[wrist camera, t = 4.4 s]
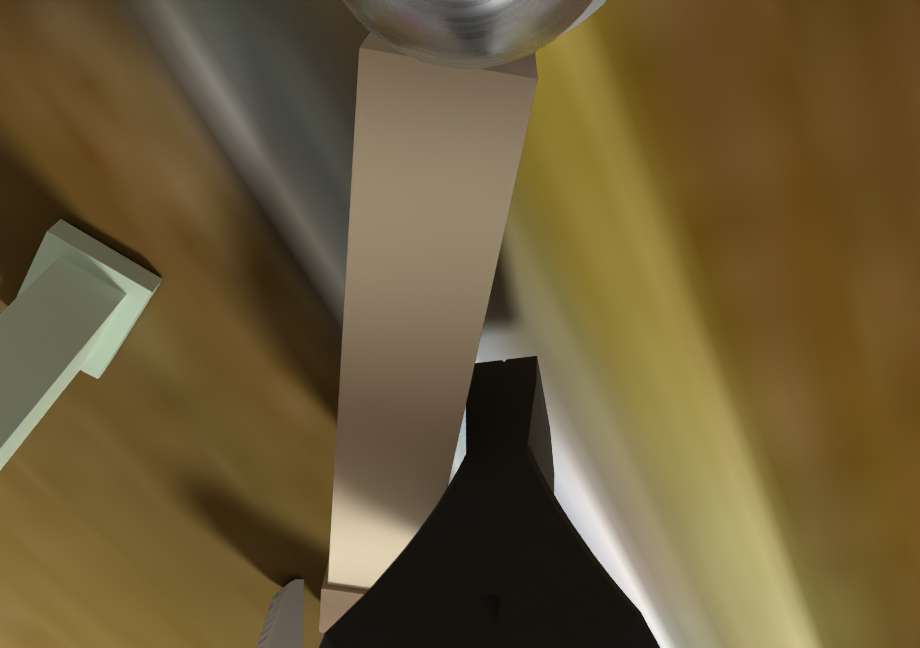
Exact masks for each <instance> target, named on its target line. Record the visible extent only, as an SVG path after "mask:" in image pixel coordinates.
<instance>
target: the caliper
mask: <svg viewBox="0 0 920 648" xmlns="http://www.w3.org/2000/svg"><path fill="white" fill-rule="evenodd" d="M303 594H304V579H295V580H294V581H292V582H290V583H288V584H287V585H286V586H285V587H284V588H282V589H281V590H280V591H279V592H278V593H277V594H275V595H274V596H273V598H272V601H271V604H270V607H269V610H268V613H267V616H266V619H265V622H264V626H263V629H262V632H261V636H260V639H259V643H258V646H257V648H303ZM324 634H325V633H323V632H322V639H323V636H324Z"/></svg>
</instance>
